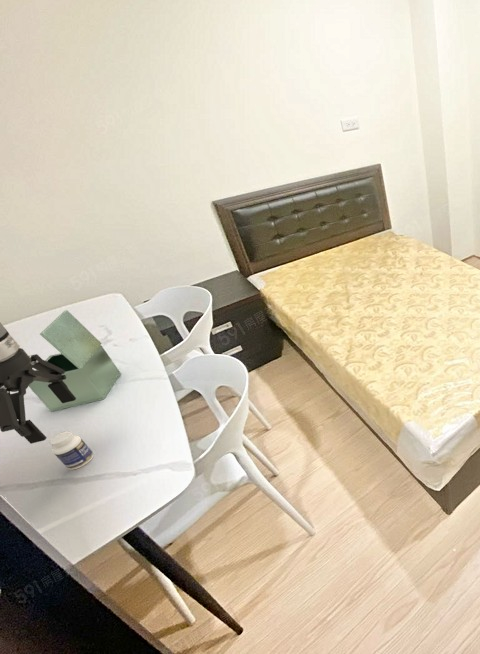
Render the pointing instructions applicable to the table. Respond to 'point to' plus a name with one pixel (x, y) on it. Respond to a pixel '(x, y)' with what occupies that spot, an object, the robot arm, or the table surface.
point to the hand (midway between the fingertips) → (55, 419)
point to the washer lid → (71, 339)
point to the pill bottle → (71, 450)
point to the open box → (80, 380)
